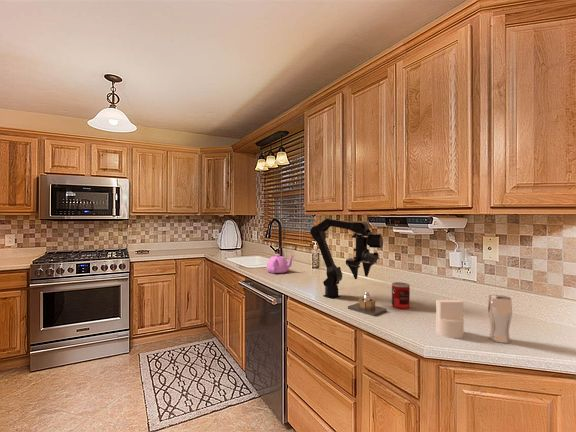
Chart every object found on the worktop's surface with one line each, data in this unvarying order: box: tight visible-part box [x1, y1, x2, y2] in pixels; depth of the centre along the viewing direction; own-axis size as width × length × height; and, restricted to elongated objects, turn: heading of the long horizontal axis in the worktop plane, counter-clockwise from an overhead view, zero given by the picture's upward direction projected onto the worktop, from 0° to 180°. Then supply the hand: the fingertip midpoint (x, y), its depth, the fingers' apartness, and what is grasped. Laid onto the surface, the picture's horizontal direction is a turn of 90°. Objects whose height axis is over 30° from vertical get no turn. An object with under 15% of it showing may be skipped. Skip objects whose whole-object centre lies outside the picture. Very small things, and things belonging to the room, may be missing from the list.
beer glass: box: [487, 294, 513, 344], centre depth 107 cm, size 7×7×15 cm
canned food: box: [391, 281, 411, 310], centre depth 144 cm, size 8×8×11 cm
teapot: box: [265, 253, 295, 274], centre depth 232 cm, size 22×22×14 cm
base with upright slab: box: [435, 299, 465, 339], centre depth 112 cm, size 9×9×12 cm
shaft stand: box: [347, 291, 388, 317], centre depth 140 cm, size 14×10×8 cm
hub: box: [358, 297, 376, 310], centre depth 140 cm, size 7×7×4 cm
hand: (361, 277), depth 154 cm, fingers open, 9 cm apart
